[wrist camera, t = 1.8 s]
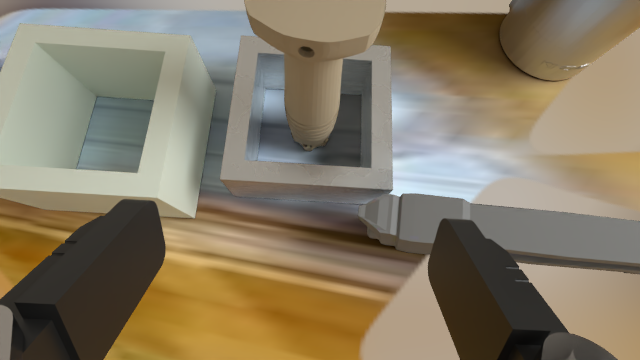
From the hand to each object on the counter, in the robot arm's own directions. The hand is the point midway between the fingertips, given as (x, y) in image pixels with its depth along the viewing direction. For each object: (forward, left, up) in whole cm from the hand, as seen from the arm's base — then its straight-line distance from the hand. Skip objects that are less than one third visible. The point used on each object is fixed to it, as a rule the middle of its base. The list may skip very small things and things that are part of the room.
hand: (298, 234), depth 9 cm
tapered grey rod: (-2, +17, -18) cm, 25 cm away
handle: (-11, 0, -17) cm, 21 cm away
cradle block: (-9, -15, -17) cm, 25 cm away
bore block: (-11, 0, -17) cm, 20 cm away
